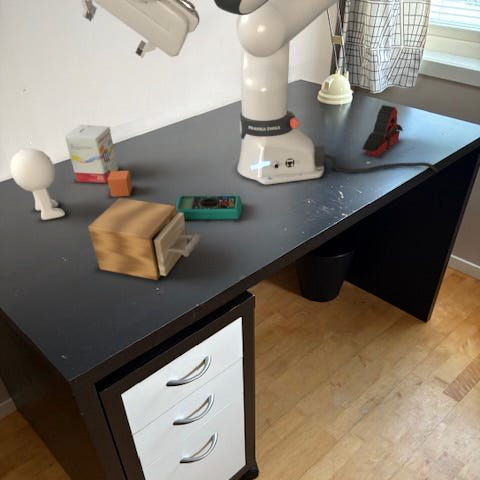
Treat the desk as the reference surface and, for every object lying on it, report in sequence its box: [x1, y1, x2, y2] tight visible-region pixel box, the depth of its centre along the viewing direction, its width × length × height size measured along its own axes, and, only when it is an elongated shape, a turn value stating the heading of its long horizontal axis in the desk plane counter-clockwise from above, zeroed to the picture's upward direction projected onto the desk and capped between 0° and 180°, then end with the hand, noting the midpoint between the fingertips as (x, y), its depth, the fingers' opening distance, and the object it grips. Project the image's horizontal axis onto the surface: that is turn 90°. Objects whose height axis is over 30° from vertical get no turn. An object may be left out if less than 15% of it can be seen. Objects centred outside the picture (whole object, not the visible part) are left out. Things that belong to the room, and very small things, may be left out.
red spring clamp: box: [361, 104, 404, 158], centre depth 128 cm, size 18×4×11 cm, turn 142°
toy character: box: [9, 148, 66, 221], centre depth 107 cm, size 9×9×15 cm
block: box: [107, 170, 133, 198], centre depth 117 cm, size 4×4×4 cm
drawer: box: [152, 212, 202, 277], centre depth 92 cm, size 16×10×8 cm, turn 71°
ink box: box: [64, 124, 119, 184], centre depth 122 cm, size 9×9×12 cm
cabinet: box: [88, 197, 177, 281], centre depth 93 cm, size 13×12×10 cm
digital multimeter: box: [175, 194, 243, 221], centre depth 108 cm, size 7×15×3 cm, turn 88°
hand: (114, 35), depth 80 cm, fingers open, 8 cm apart
